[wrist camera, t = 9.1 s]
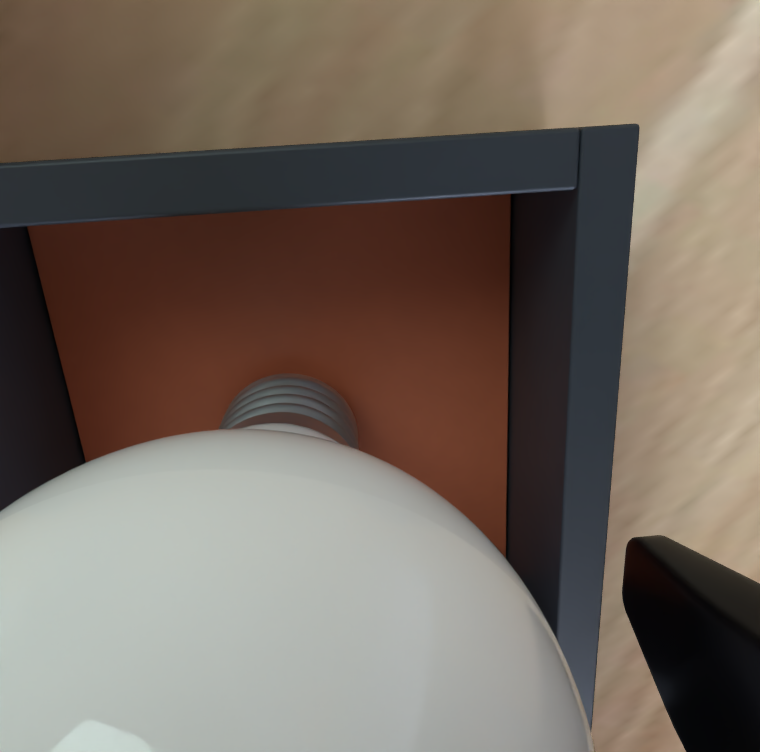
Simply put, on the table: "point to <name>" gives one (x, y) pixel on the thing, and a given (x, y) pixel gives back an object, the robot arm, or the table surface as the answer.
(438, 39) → the table surface
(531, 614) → the lightbulb
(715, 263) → the table surface
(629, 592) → the robot arm
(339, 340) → the tray
